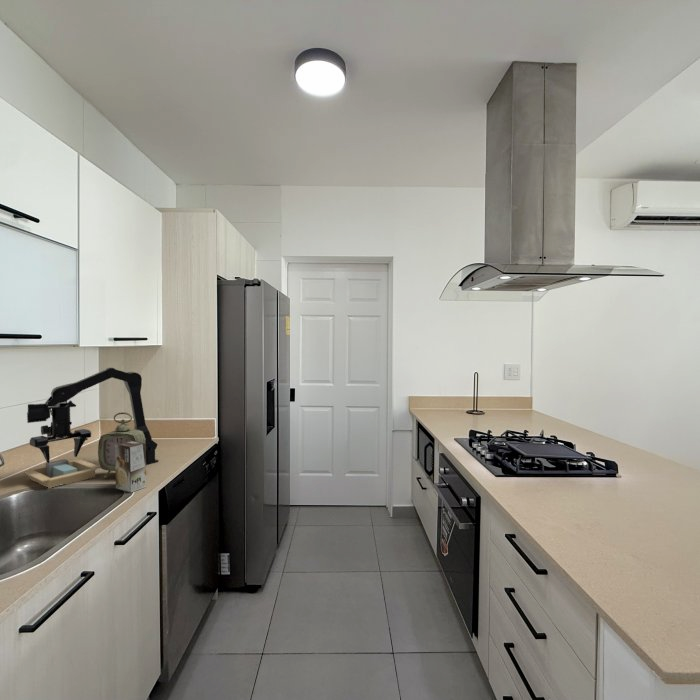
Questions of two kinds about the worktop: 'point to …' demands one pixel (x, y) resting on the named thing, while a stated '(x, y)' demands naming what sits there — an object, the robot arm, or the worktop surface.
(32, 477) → the tan shallow rectangular tray
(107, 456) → the tabletop clock
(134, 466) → the coffee box
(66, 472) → the box
